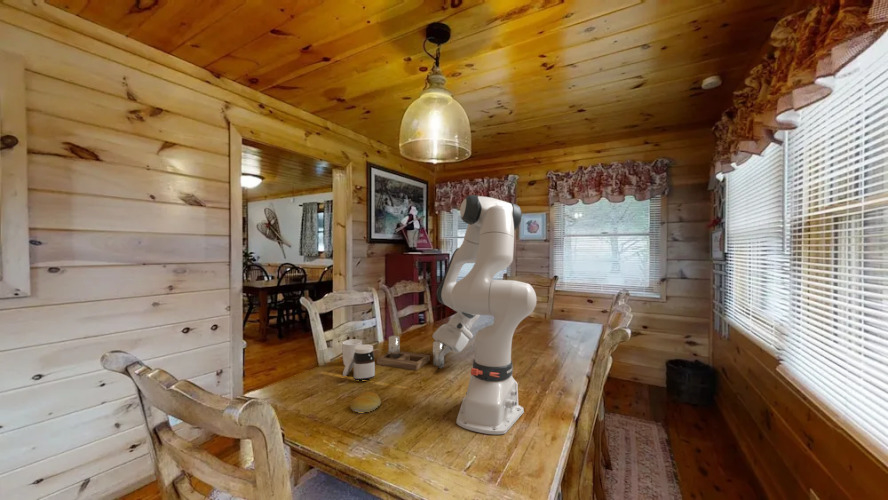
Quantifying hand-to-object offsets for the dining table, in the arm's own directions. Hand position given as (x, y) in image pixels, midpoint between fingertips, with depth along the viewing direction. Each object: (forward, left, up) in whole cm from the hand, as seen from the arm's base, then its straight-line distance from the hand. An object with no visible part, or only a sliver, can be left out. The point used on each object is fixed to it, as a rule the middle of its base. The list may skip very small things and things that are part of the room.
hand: (437, 353), depth 137 cm
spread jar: (-22, +23, -6) cm, 32 cm away
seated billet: (-4, +18, -4) cm, 19 cm away
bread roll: (-39, +7, -6) cm, 40 cm away
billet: (0, 0, -5) cm, 5 cm away
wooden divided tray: (-4, +14, -5) cm, 15 cm away
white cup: (-13, +33, -6) cm, 35 cm away
